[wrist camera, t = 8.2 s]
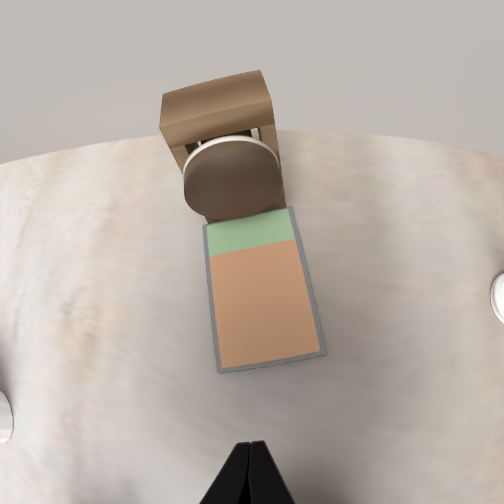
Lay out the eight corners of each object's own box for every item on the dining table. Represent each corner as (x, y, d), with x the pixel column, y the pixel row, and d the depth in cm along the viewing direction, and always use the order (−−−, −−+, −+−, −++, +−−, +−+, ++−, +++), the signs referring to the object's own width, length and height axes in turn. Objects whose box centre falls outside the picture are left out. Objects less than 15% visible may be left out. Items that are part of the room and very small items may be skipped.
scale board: (325, 354, 22) (326, 353, 21) (219, 373, 22) (217, 372, 22) (291, 210, 28) (291, 205, 27) (204, 228, 28) (201, 224, 27)
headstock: (286, 209, 28) (271, 100, 17) (209, 225, 28) (159, 127, 18) (277, 176, 29) (260, 69, 19) (206, 191, 30) (162, 94, 19)
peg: (286, 208, 23) (278, 145, 17) (200, 227, 23) (168, 171, 17) (266, 133, 27) (255, 73, 21) (195, 149, 27) (172, 94, 21)
